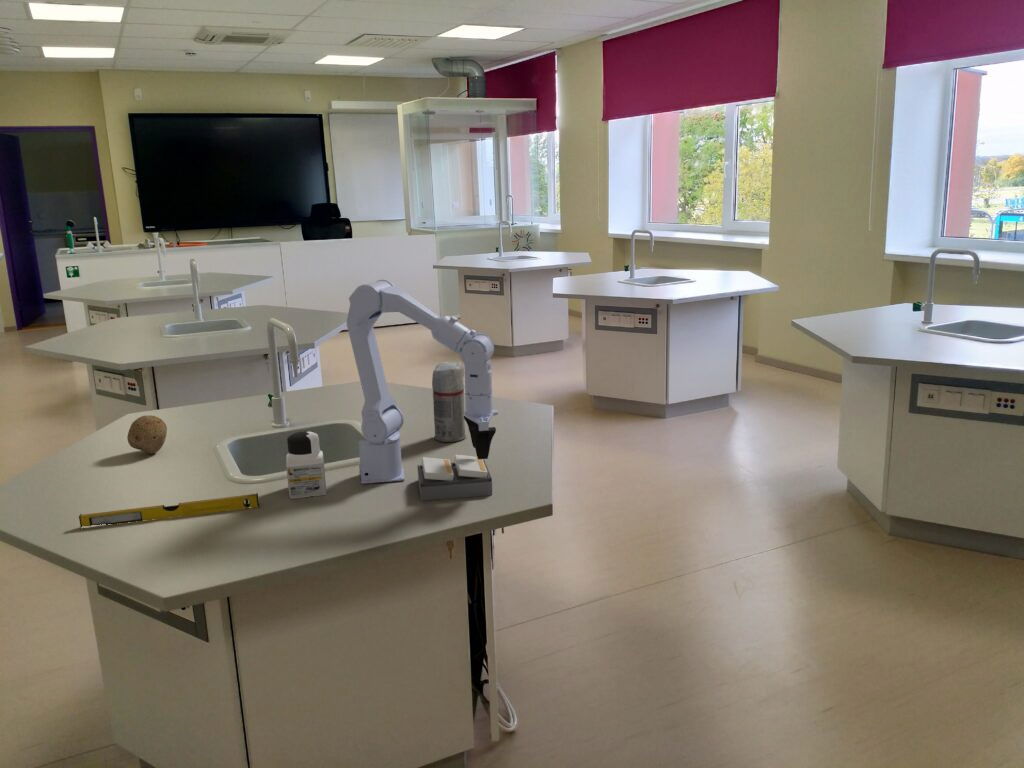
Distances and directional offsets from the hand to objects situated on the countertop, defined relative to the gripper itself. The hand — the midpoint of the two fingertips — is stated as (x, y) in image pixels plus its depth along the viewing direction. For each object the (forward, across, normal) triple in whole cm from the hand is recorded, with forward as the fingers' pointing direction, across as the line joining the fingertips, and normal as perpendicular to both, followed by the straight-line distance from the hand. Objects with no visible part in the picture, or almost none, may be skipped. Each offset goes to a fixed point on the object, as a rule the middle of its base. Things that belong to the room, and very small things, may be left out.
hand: (480, 452), depth 172 cm
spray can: (+8, +34, +3) cm, 35 cm away
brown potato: (+8, +39, +78) cm, 88 cm away
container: (+8, +5, +37) cm, 39 cm away
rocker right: (+4, 0, +2) cm, 4 cm away
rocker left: (+4, 0, +10) cm, 10 cm away
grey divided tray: (+8, 0, +6) cm, 10 cm away
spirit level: (+8, -3, +64) cm, 64 cm away
